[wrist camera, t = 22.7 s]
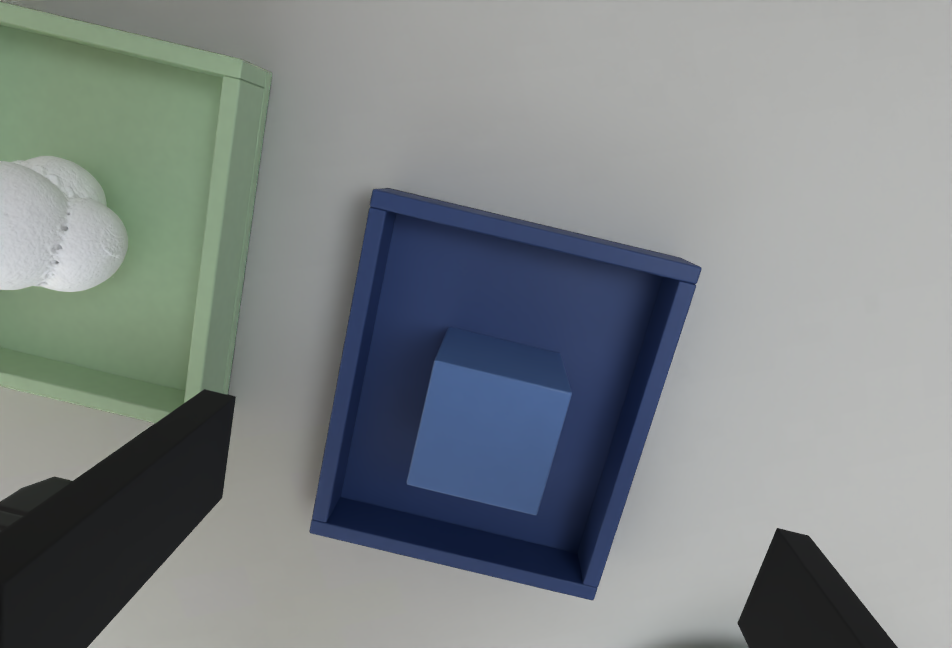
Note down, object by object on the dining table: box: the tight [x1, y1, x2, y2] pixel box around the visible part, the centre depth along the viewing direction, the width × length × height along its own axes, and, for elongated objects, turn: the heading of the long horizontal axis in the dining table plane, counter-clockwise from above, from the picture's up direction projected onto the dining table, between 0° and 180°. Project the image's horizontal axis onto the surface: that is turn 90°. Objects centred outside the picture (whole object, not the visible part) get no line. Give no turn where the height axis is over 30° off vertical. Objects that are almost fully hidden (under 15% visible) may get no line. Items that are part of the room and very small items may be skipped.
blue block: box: [407, 327, 572, 515], centre depth 21 cm, size 4×4×4 cm
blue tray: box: [310, 188, 701, 600], centre depth 23 cm, size 13×11×2 cm
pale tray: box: [0, 2, 272, 423], centre depth 22 cm, size 13×11×2 cm
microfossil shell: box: [0, 156, 128, 292], centre depth 20 cm, size 4×5×6 cm
